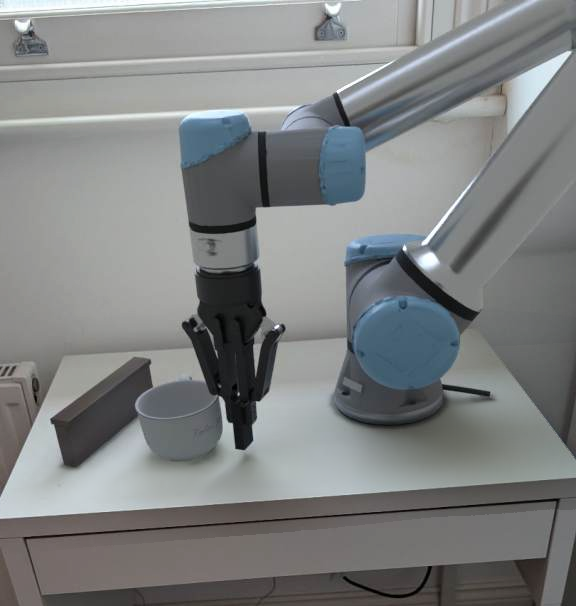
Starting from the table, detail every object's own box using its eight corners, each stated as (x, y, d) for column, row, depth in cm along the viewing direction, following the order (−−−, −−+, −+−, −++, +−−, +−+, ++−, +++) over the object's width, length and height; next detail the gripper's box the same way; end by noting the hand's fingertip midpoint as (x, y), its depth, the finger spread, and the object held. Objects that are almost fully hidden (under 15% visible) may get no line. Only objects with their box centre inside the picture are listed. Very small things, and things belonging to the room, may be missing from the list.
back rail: (157, 401, 120) (150, 358, 116) (78, 468, 105) (67, 421, 101) (141, 398, 121) (134, 356, 117) (61, 464, 106) (49, 418, 102)
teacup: (212, 473, 102) (204, 417, 98) (132, 468, 104) (121, 413, 100) (240, 421, 113) (235, 369, 109) (167, 417, 116) (159, 366, 111)
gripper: (160, 269, 91) (187, 451, 104) (264, 278, 86) (278, 466, 100) (192, 250, 97) (213, 424, 110) (291, 257, 92) (301, 438, 105)
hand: (244, 444), depth 105 cm, fingers closed
